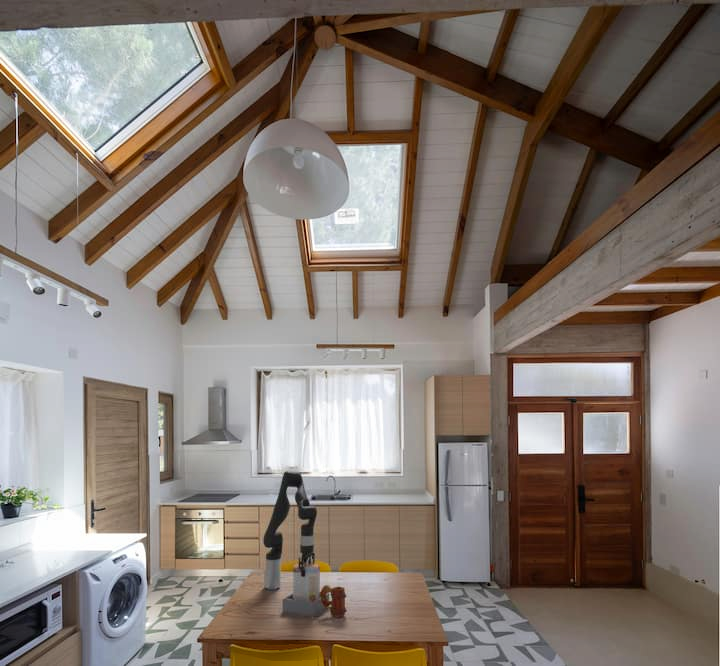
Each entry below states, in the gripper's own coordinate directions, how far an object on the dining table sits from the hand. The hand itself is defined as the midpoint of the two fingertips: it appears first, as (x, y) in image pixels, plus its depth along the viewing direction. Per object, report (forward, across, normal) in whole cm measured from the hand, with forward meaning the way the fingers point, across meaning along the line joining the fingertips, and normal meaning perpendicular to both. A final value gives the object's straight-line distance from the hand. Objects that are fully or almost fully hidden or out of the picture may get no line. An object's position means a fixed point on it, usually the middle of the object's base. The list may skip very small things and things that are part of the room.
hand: (306, 574), depth 310 cm
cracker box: (+16, 0, 0) cm, 16 cm away
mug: (+18, +2, +18) cm, 26 cm away
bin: (+18, 0, 0) cm, 18 cm away
